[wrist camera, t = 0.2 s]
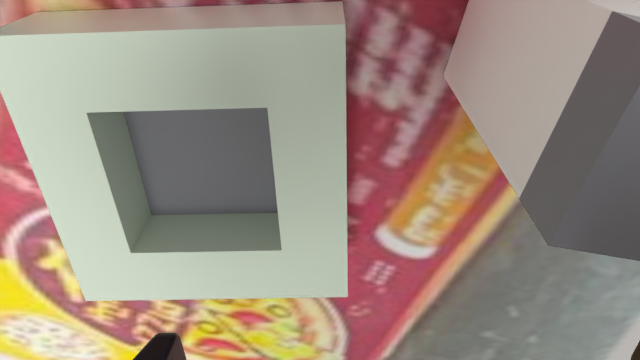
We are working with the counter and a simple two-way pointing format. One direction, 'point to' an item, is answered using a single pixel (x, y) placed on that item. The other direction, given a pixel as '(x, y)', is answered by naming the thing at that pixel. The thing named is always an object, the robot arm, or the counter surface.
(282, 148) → the sage block
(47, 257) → the counter surface
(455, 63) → the white plug block
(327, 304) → the counter surface
